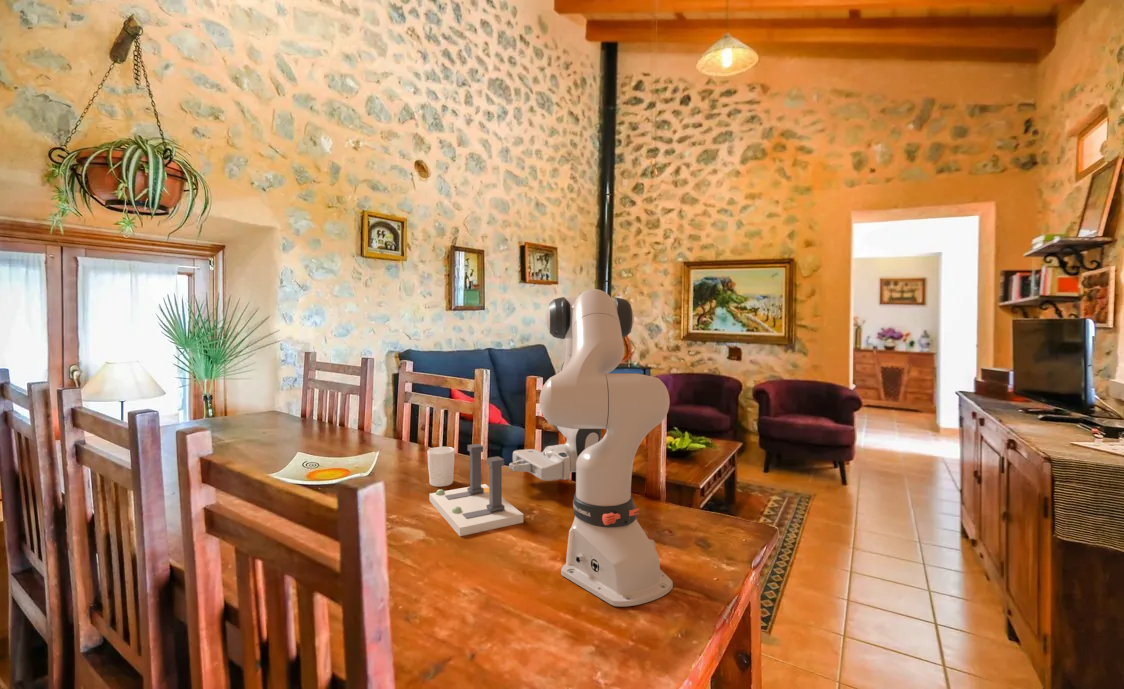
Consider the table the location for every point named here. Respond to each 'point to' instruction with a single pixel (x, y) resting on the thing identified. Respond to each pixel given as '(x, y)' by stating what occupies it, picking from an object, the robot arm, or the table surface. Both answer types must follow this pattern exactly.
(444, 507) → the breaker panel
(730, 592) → the table surface
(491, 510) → the post
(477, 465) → the post
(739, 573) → the table surface
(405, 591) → the table surface
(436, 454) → the white cup
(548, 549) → the table surface
